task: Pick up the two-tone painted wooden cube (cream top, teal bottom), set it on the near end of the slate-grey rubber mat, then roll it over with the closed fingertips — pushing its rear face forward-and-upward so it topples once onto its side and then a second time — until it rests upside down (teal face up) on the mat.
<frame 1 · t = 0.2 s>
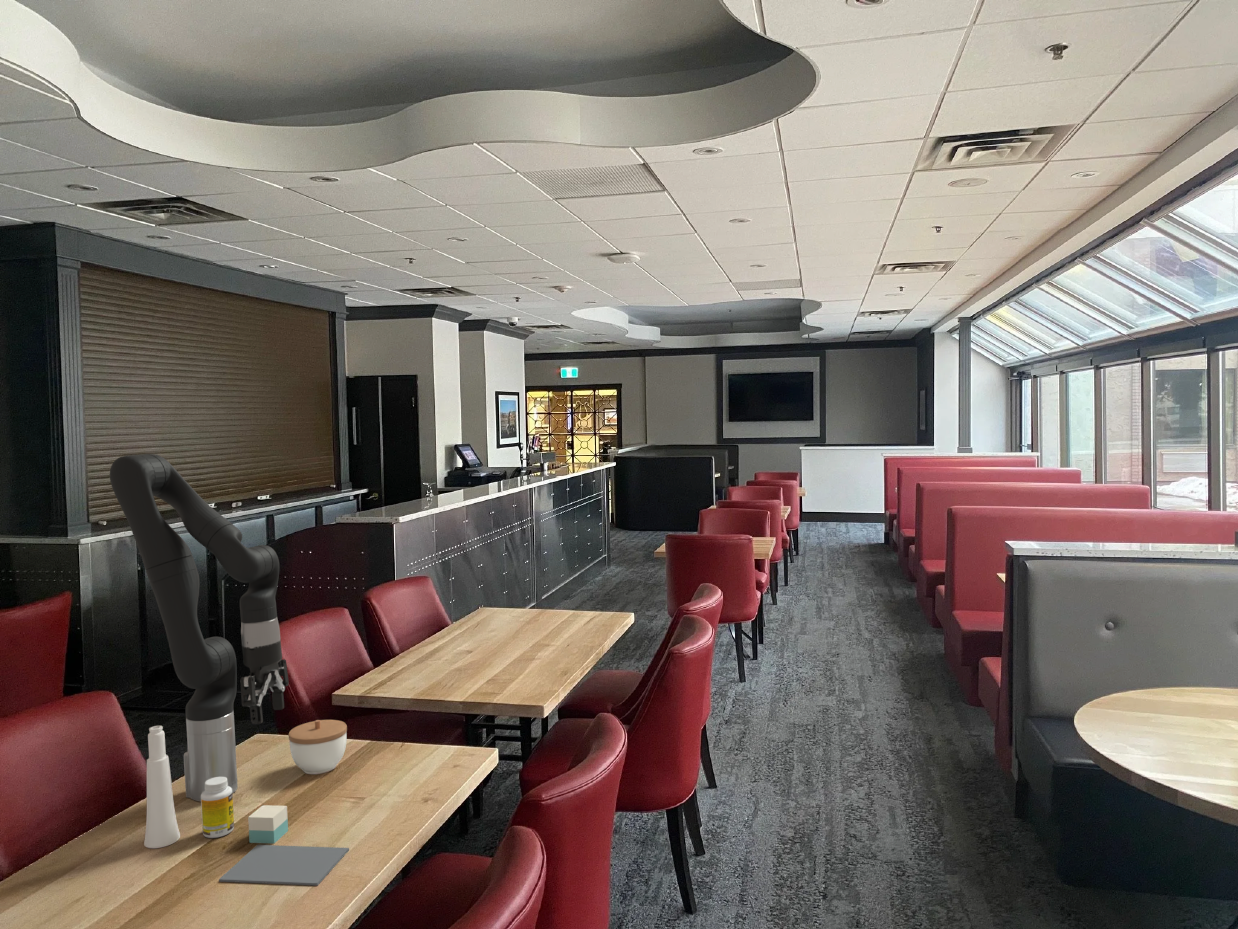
hand: (268, 716, 178), 17 cm above the table, tool pointing down, fingers open, 8 cm apart
slate rubber mat: (286, 865, 150), on the table
cosmetic bottle: (162, 842, 160), on the table
lidded bowl: (319, 768, 193), on the table
two-tone cube: (269, 837, 161), on the table
supplement bottle: (218, 833, 163), on the table
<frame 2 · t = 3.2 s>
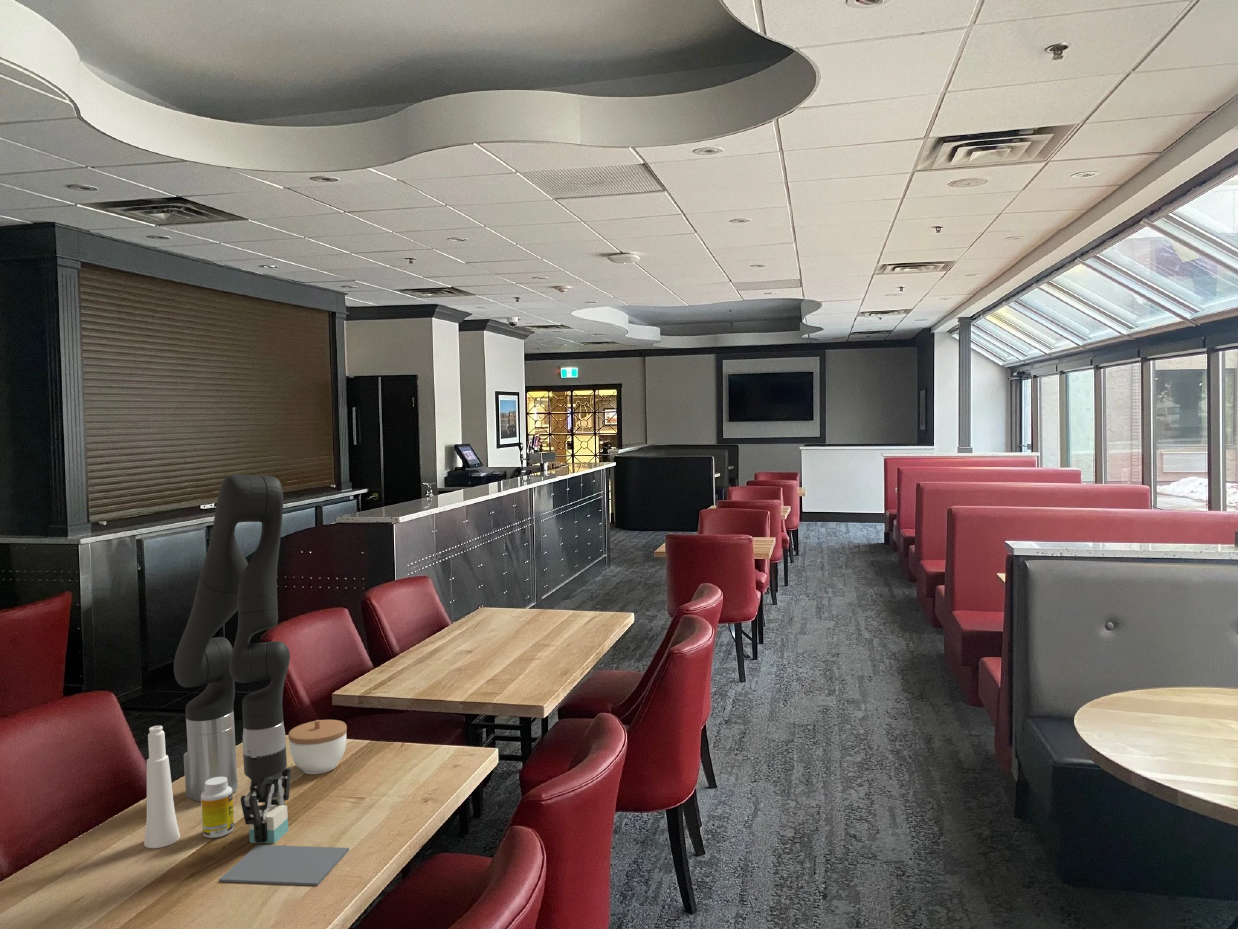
hand: (269, 834, 161), 0 cm above the table, tool pointing down, fingers closed on two-tone cube, 5 cm apart
two-tone cube: (269, 836, 161), on the table, touching gripper
everything else where it was.
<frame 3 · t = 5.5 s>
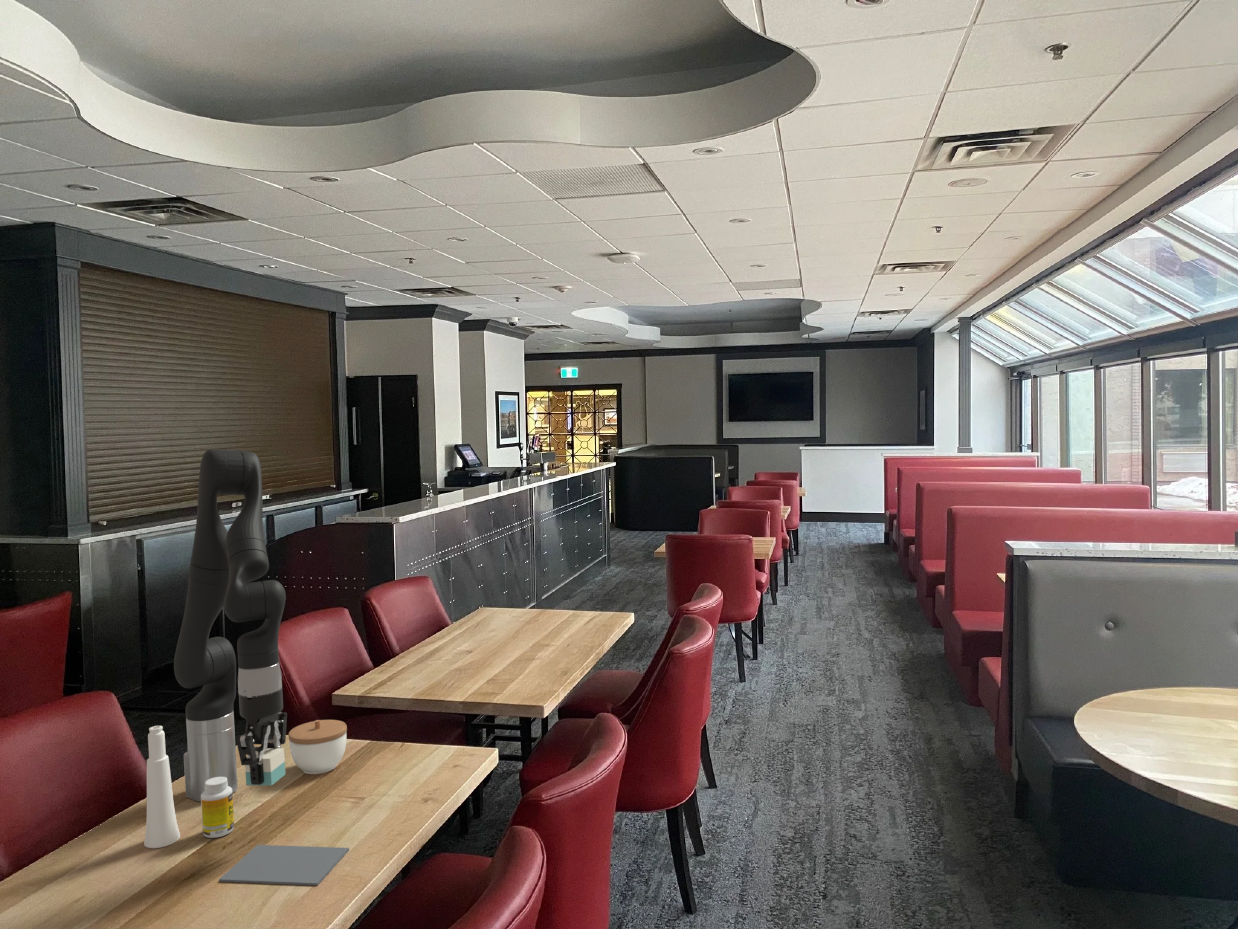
hand: (265, 777, 158), 13 cm above the table, tool pointing down, fingers closed on two-tone cube, 5 cm apart
two-tone cube: (266, 779, 158), point 12 cm above the table, touching gripper
everything else where it was.
when the fingers open (2 cm above the table, at t = 7.8 s): two-tone cube stays where it is, resting on slate rubber mat.
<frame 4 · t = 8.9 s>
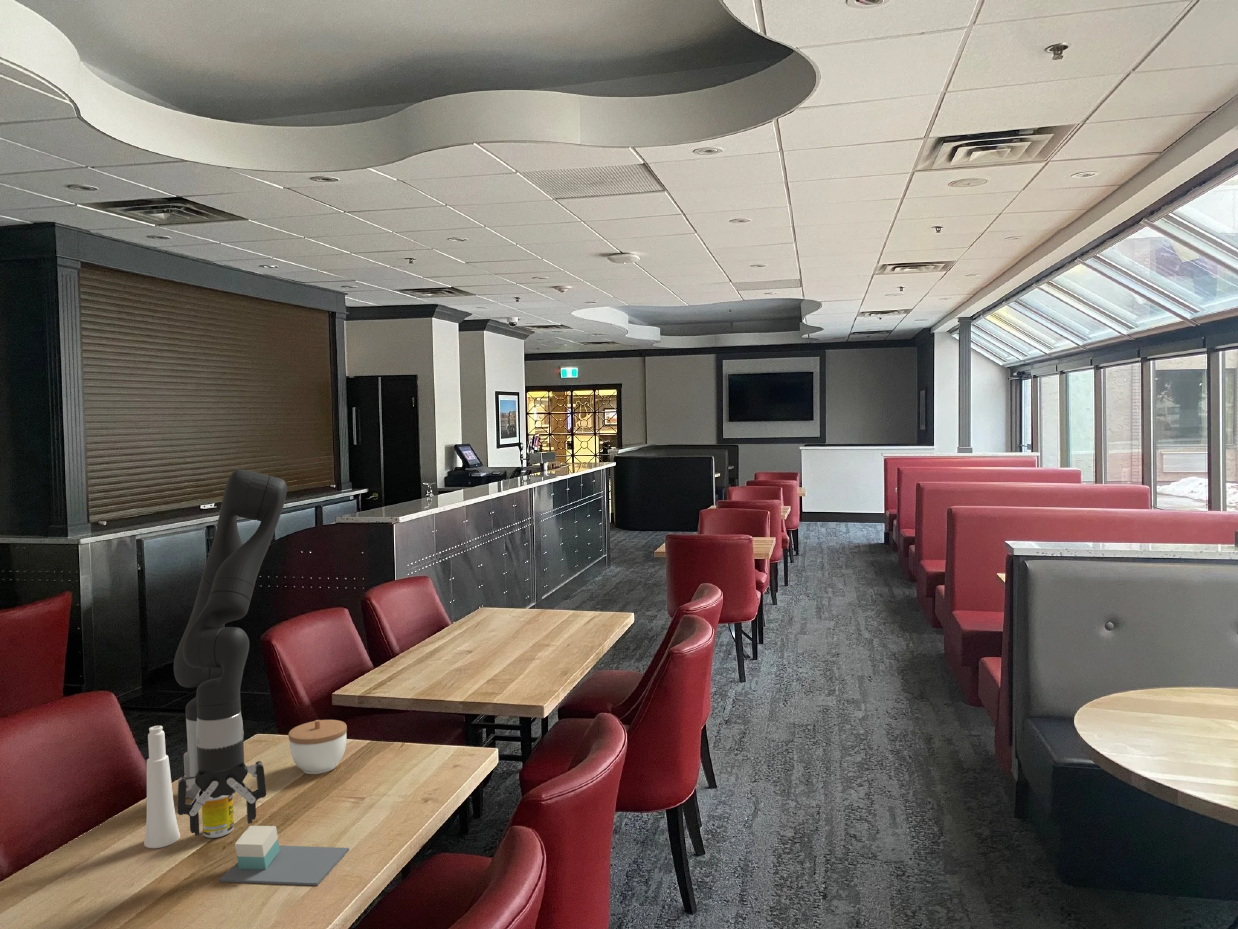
hand: (223, 827, 150), 7 cm above the table, tool pointing down, fingers open, 8 cm apart
two-tone cube: (259, 859, 150), point 1 cm above the table, tilted 11°, touching slate rubber mat
everything else where it was.
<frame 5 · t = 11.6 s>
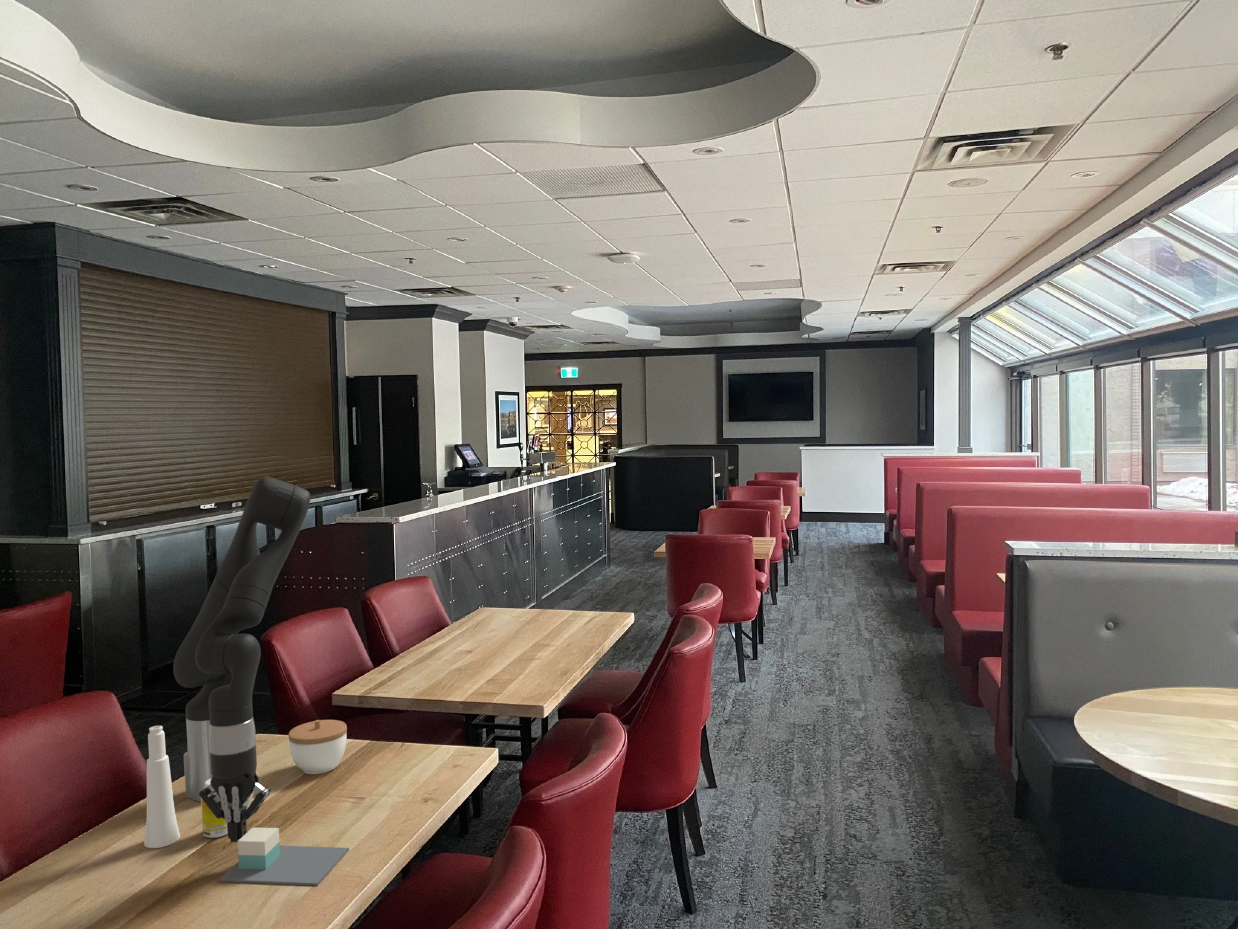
hand: (237, 840, 150), 4 cm above the table, tool pointing down, fingers closed
two-tone cube: (259, 861, 150), resting on slate rubber mat, touching gripper
everything else where it was.
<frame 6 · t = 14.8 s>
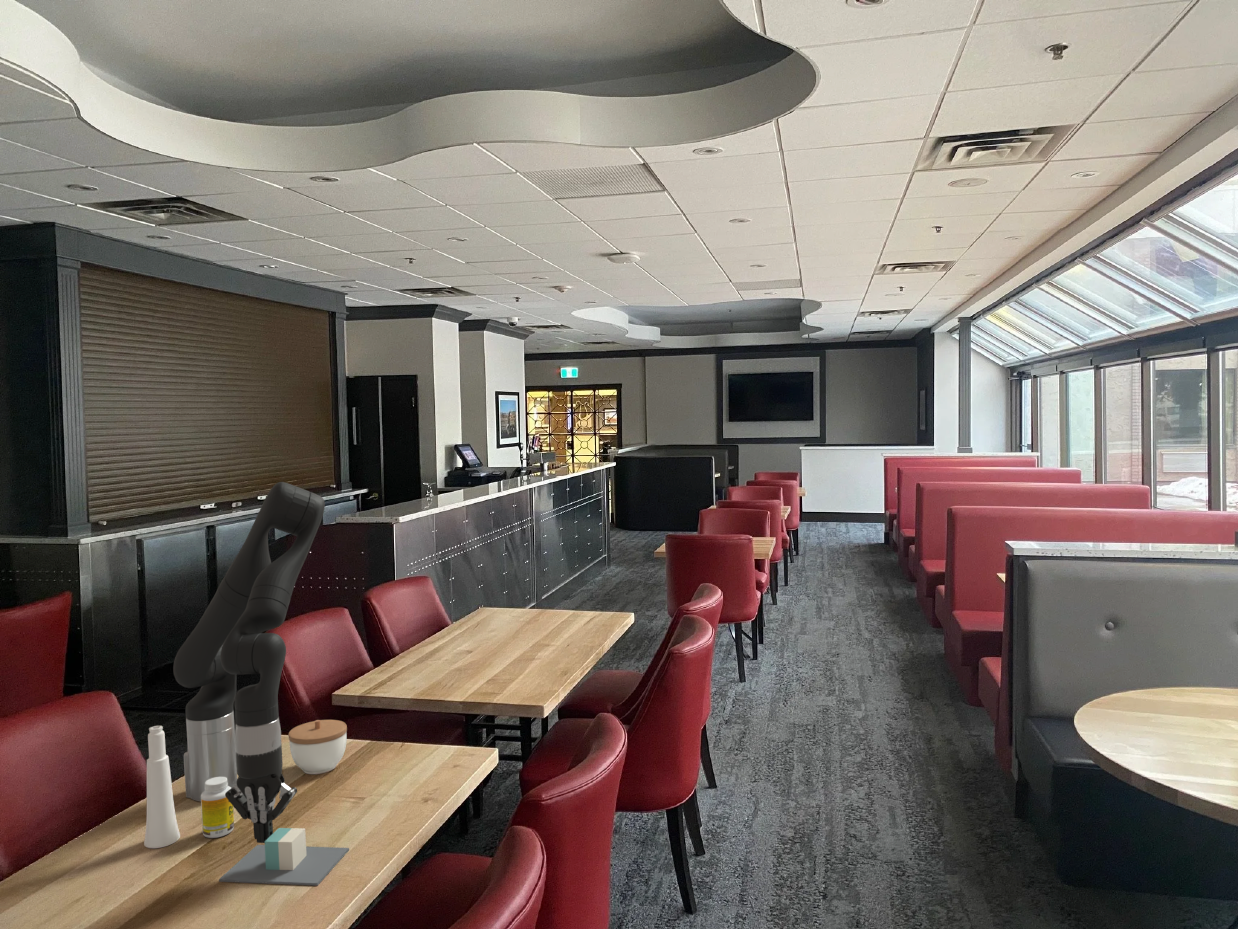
hand: (263, 840, 150), 4 cm above the table, tool pointing down, fingers closed
two-tone cube: (272, 848, 150), point 3 cm above the table, tilted 90°, touching gripper, slate rubber mat
everything else where it was.
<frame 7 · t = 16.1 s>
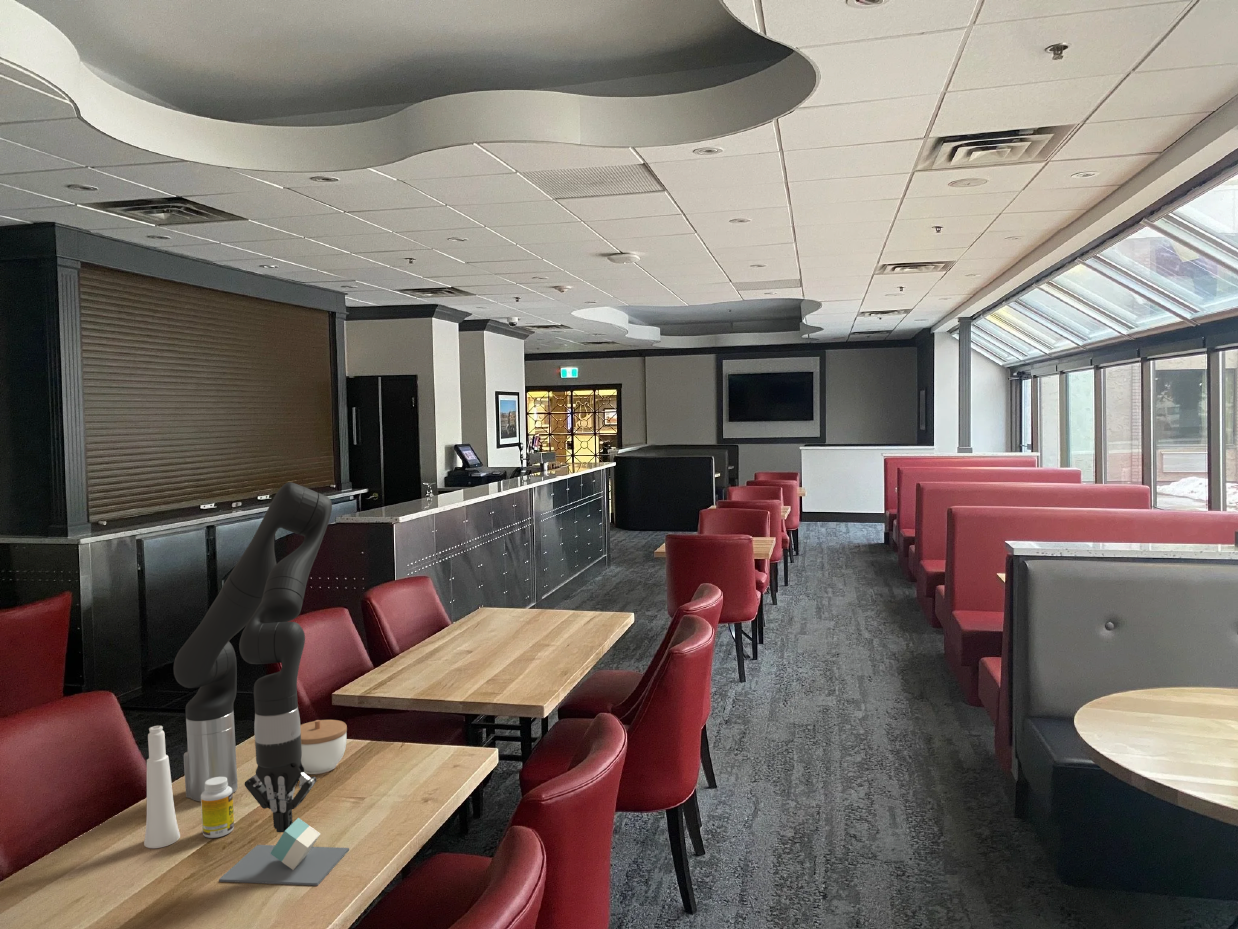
hand: (283, 830, 149), 6 cm above the table, tool pointing down, fingers closed
two-tone cube: (284, 835, 150), point 5 cm above the table, tilted 125°, touching gripper, slate rubber mat
everything else where it was.
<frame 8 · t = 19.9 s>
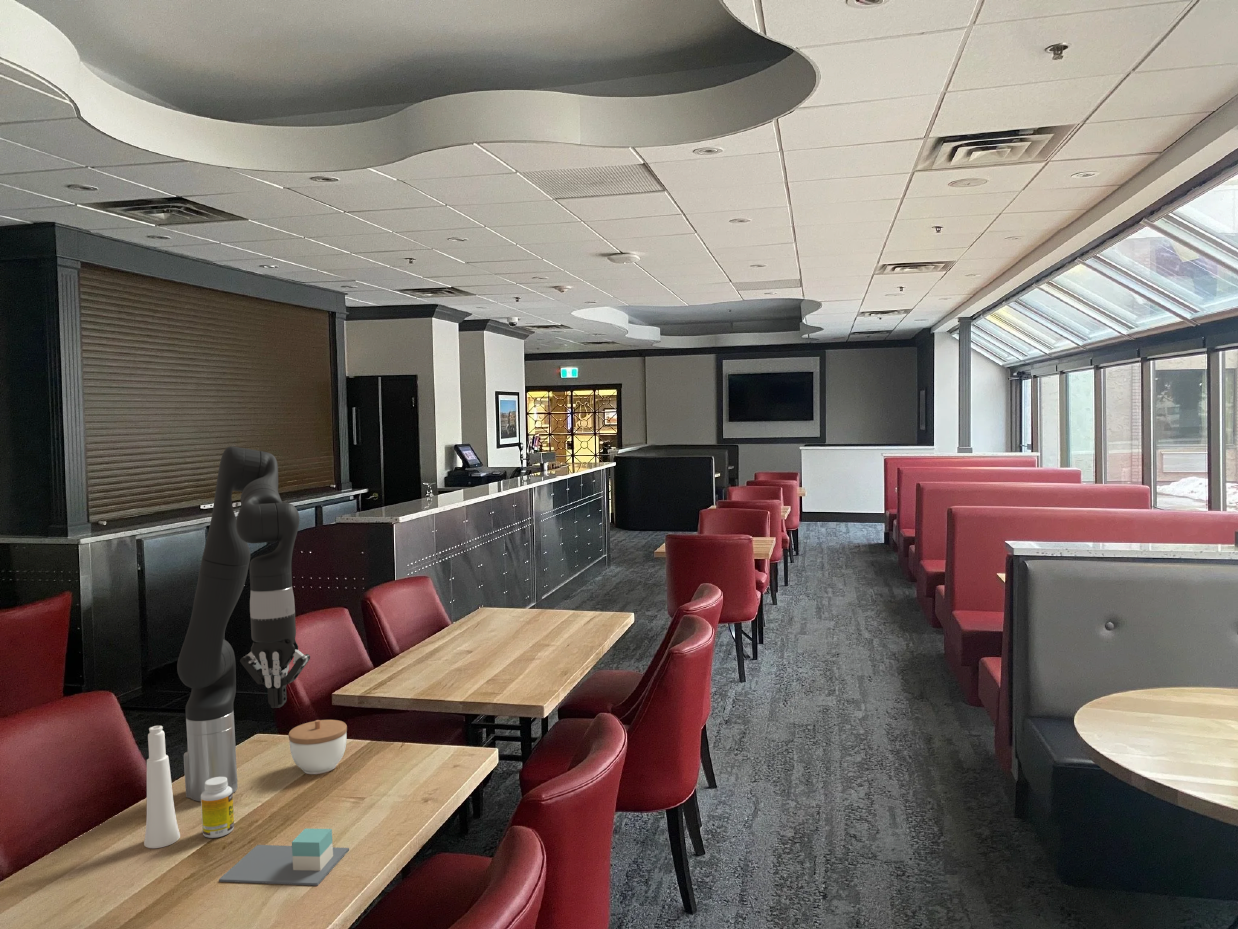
hand: (277, 706, 154), 27 cm above the table, tool pointing down, fingers closed
two-tone cube: (312, 835, 149), point 5 cm above the table, tilted 180°, touching slate rubber mat
everything else where it was.
at the end: two-tone cube tilted 180°; two-tone cube inside the target area (3.5 cm from its centre), point 5.4 cm above the table; the gripper is holding nothing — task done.
